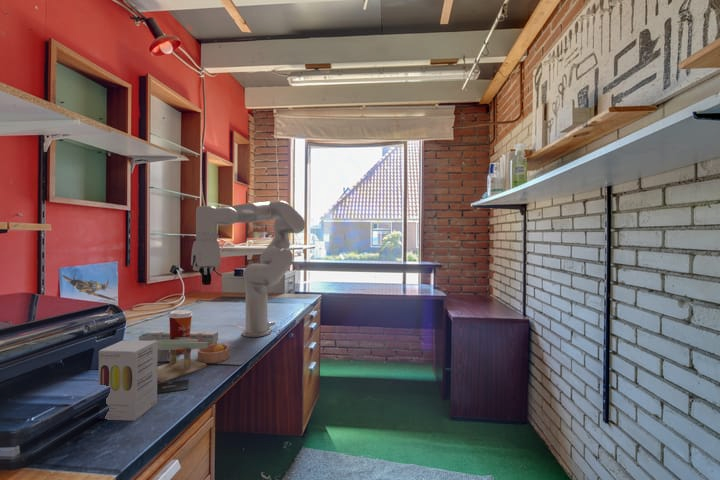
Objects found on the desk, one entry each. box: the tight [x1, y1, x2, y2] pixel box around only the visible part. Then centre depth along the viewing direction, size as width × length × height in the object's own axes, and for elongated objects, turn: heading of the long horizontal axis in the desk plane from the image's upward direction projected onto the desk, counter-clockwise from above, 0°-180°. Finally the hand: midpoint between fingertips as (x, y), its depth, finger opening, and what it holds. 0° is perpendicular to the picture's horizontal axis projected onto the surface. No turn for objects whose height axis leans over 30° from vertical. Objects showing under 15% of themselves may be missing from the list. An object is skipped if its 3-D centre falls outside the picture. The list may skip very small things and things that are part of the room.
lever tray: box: [151, 337, 209, 362], centre depth 118 cm, size 17×15×6 cm
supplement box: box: [97, 339, 158, 422], centre depth 88 cm, size 10×9×17 cm
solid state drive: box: [157, 379, 190, 395], centre depth 102 cm, size 7×10×1 cm
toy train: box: [138, 329, 219, 345], centre depth 143 cm, size 5×32×5 cm, turn 87°
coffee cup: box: [168, 309, 194, 355], centre depth 133 cm, size 8×8×15 cm
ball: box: [213, 345, 224, 352], centre depth 128 cm, size 4×4×4 cm
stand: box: [157, 347, 208, 383], centre depth 114 cm, size 15×11×8 cm
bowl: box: [197, 343, 230, 364], centre depth 126 cm, size 10×10×4 cm
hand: (206, 284), depth 137 cm, fingers closed
